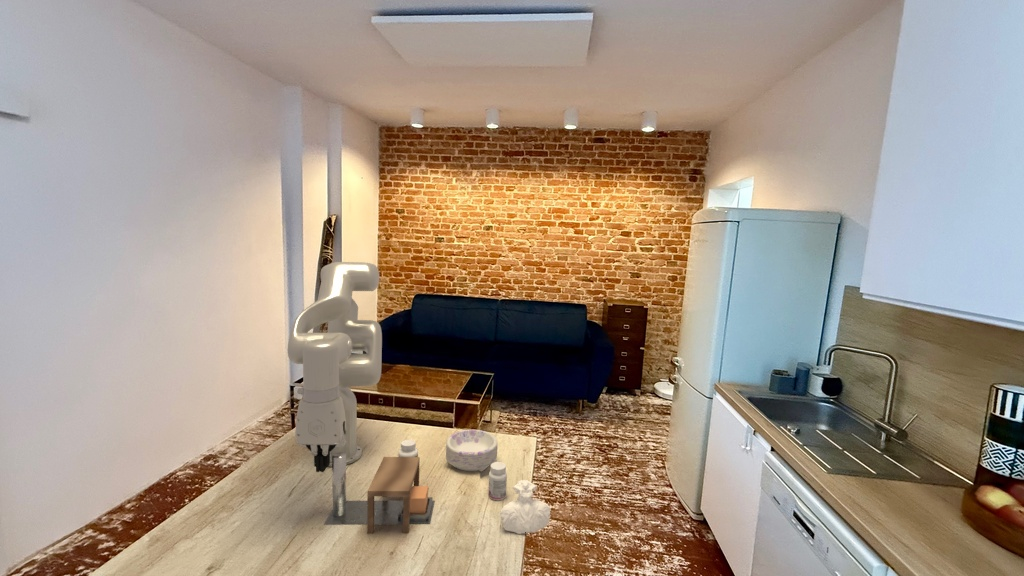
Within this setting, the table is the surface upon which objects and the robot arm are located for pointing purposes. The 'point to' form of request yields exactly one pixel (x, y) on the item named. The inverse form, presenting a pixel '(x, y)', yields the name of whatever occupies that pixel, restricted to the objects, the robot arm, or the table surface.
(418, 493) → the block
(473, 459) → the paper bowls
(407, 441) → the supplement bottle
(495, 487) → the pill bottle
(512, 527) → the white lumpy bag
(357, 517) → the metal rod stand
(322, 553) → the table surface
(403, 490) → the wooden table
